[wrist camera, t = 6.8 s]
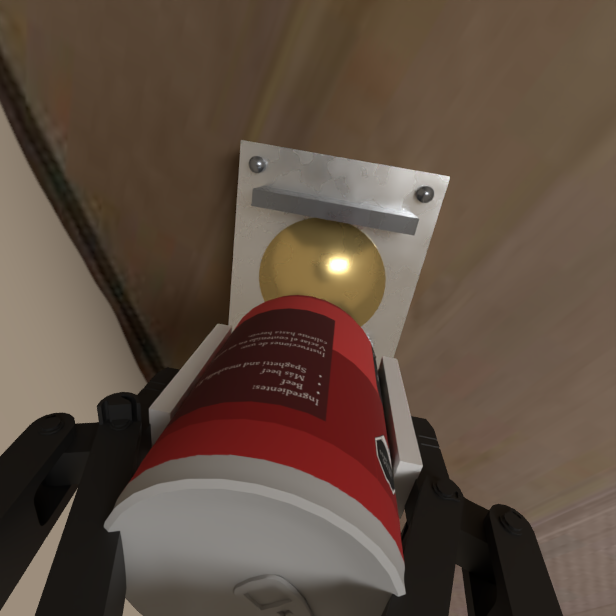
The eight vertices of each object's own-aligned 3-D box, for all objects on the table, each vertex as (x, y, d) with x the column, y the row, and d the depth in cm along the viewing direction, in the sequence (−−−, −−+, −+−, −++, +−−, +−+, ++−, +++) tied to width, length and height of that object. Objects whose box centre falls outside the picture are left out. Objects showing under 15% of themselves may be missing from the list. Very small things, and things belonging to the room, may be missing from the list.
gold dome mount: (257, 143, 30) (228, 137, 23) (434, 174, 29) (462, 178, 22) (240, 335, 38) (215, 376, 31) (378, 362, 38) (386, 410, 30)
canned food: (318, 434, 20) (288, 699, 10) (208, 360, 19) (51, 580, 9) (408, 353, 17) (488, 611, 7) (285, 258, 16) (182, 417, 6)
